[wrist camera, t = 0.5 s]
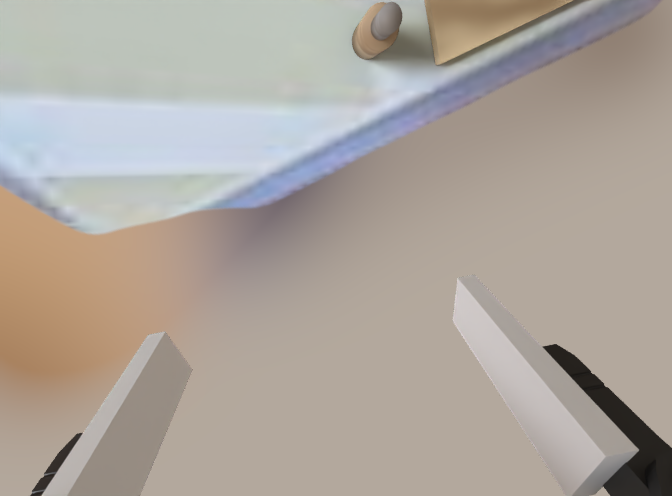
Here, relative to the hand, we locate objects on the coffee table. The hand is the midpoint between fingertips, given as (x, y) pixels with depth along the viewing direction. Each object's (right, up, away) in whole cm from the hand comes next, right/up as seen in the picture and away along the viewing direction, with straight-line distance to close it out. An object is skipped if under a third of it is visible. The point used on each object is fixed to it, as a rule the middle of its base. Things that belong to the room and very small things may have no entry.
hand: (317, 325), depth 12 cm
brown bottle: (+4, +25, +15) cm, 30 cm away
